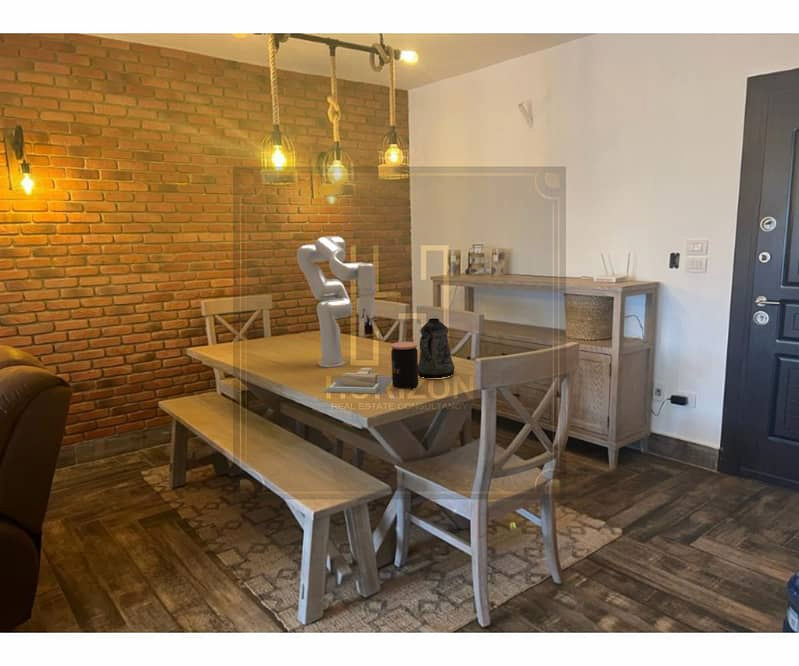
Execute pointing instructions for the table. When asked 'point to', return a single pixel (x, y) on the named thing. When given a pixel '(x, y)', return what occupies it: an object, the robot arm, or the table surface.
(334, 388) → the mat
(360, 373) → the t block
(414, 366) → the coffee jar
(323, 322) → the robot arm
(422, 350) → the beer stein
